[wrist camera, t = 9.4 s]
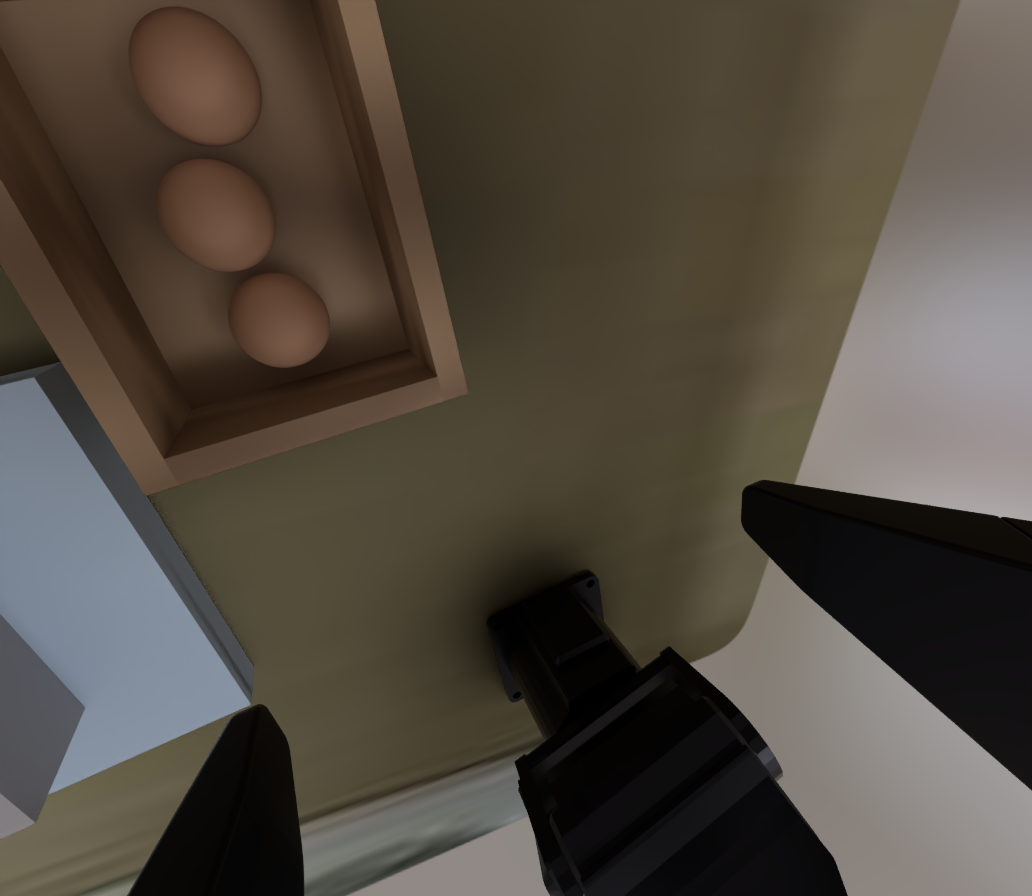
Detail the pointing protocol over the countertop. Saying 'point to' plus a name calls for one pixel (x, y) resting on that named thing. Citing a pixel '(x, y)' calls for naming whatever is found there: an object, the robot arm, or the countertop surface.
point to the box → (219, 224)
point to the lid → (92, 606)
